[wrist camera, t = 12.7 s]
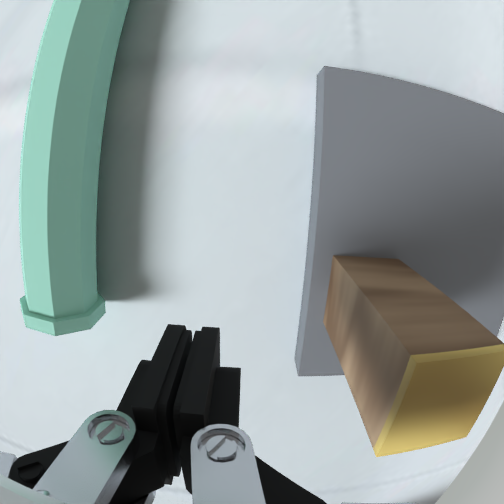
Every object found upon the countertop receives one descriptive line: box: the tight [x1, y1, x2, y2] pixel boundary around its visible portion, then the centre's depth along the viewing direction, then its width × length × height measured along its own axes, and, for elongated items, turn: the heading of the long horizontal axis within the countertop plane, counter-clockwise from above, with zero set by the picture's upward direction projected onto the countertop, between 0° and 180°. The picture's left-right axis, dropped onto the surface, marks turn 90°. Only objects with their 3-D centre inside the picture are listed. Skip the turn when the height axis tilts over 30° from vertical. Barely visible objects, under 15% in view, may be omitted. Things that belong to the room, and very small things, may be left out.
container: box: [19, 0, 130, 336], centre depth 14 cm, size 6×6×25 cm
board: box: [295, 66, 504, 376], centre depth 18 cm, size 18×16×2 cm
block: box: [323, 255, 504, 457], centre depth 13 cm, size 4×4×10 cm
